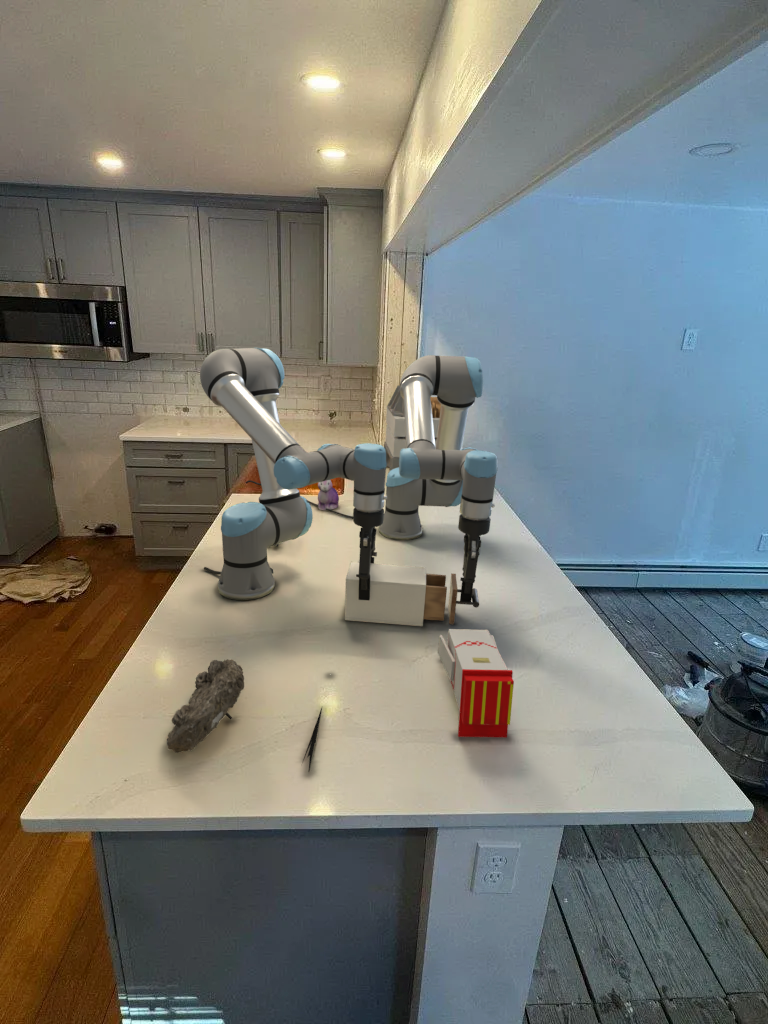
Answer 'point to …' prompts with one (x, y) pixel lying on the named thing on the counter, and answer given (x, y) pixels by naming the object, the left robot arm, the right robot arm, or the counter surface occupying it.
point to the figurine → (327, 496)
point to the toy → (478, 682)
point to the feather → (313, 740)
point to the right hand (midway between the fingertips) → (465, 602)
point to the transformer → (402, 427)
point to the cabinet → (387, 595)
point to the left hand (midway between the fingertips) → (366, 589)
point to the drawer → (443, 597)
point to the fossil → (206, 705)
